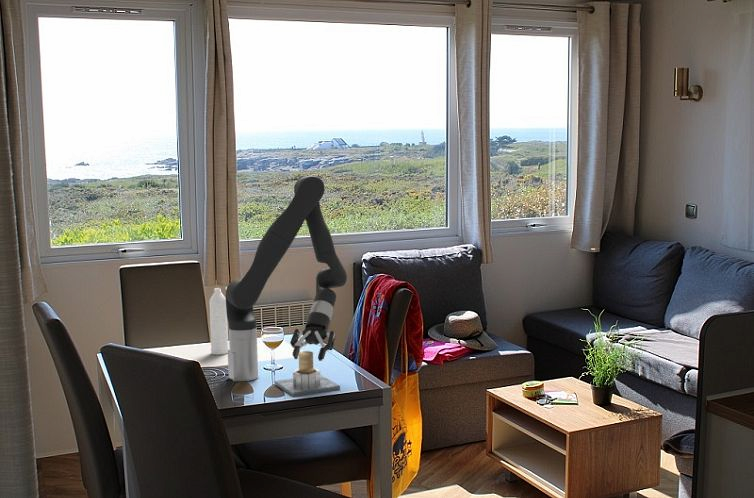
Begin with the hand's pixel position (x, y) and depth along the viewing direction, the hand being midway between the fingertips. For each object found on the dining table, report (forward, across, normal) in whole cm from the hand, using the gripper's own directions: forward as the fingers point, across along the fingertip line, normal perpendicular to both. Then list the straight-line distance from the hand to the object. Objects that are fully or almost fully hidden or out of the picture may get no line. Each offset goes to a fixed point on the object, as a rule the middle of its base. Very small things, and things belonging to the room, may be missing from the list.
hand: (307, 358), depth 280 cm
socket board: (+7, 0, +6) cm, 9 cm away
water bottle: (-19, -50, +32) cm, 62 cm away
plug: (+6, 0, +5) cm, 8 cm away
